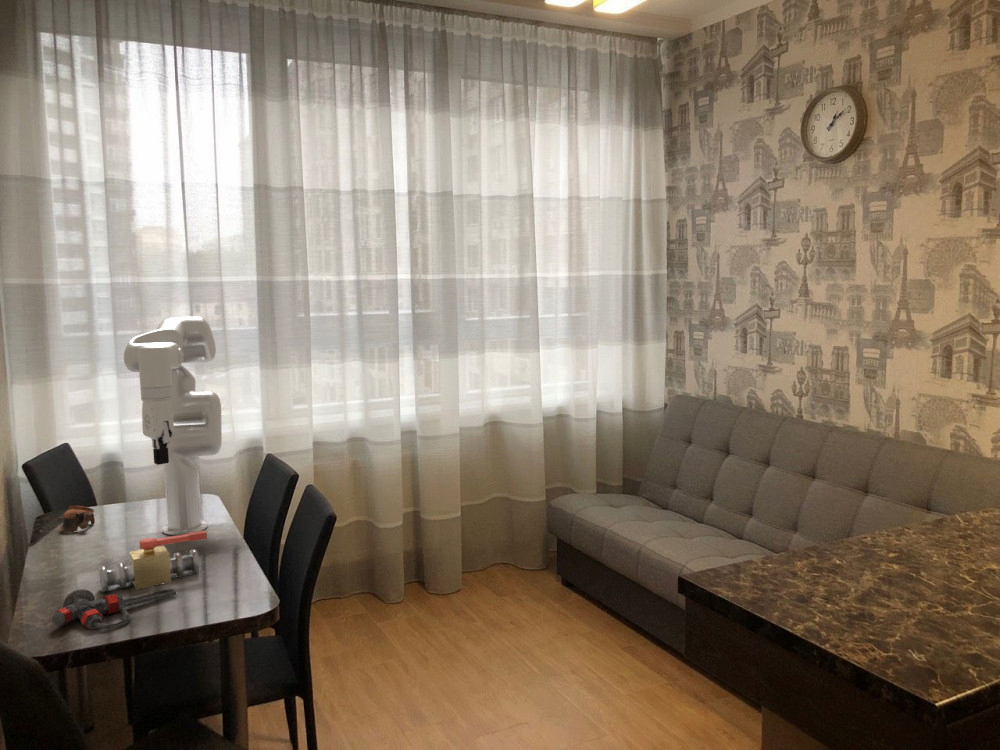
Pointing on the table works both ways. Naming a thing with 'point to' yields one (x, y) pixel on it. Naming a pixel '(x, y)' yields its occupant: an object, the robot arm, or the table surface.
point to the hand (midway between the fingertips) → (161, 463)
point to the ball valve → (149, 568)
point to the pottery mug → (77, 518)
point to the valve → (101, 607)
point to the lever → (172, 539)
